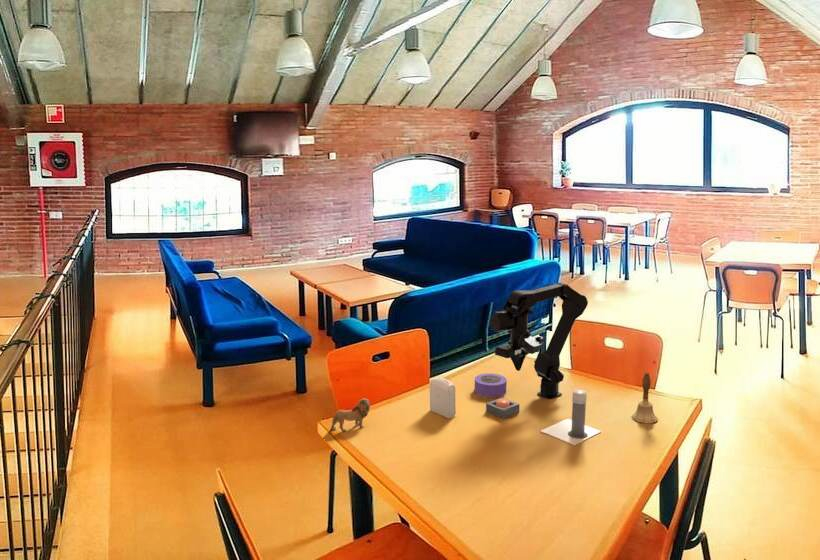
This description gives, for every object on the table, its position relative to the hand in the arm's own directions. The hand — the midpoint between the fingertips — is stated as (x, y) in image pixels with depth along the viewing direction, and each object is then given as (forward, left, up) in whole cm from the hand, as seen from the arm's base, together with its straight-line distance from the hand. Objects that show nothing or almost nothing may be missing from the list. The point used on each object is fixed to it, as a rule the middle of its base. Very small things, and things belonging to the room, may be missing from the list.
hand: (518, 370), depth 234 cm
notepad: (+5, +27, -12) cm, 30 cm away
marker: (+6, +30, -12) cm, 33 cm away
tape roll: (-1, -14, -12) cm, 19 cm away
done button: (+10, +2, -13) cm, 16 cm away
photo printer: (+26, -11, -12) cm, 31 cm away
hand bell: (-21, +37, -12) cm, 44 cm away
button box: (+10, +2, -12) cm, 16 cm away
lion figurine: (+56, -23, -12) cm, 62 cm away
